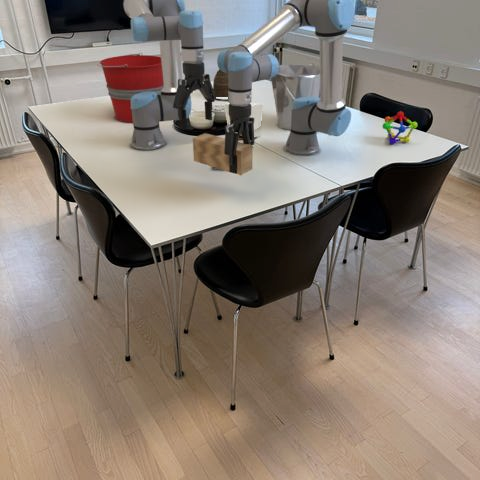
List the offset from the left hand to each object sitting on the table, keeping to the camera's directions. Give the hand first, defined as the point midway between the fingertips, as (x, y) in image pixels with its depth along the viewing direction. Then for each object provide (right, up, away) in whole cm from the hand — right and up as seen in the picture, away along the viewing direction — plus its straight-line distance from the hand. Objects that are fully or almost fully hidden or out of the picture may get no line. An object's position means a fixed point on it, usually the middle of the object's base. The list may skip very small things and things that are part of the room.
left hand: (196, 123), depth 162 cm
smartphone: (+9, -10, +27) cm, 30 cm away
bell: (+7, +48, +120) cm, 129 cm away
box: (+9, -15, -1) cm, 18 cm away
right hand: (+16, -17, -5) cm, 24 cm away
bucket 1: (-41, +27, +85) cm, 97 cm away
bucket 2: (+45, +18, +72) cm, 87 cm away
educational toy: (+90, +4, +49) cm, 103 cm away
